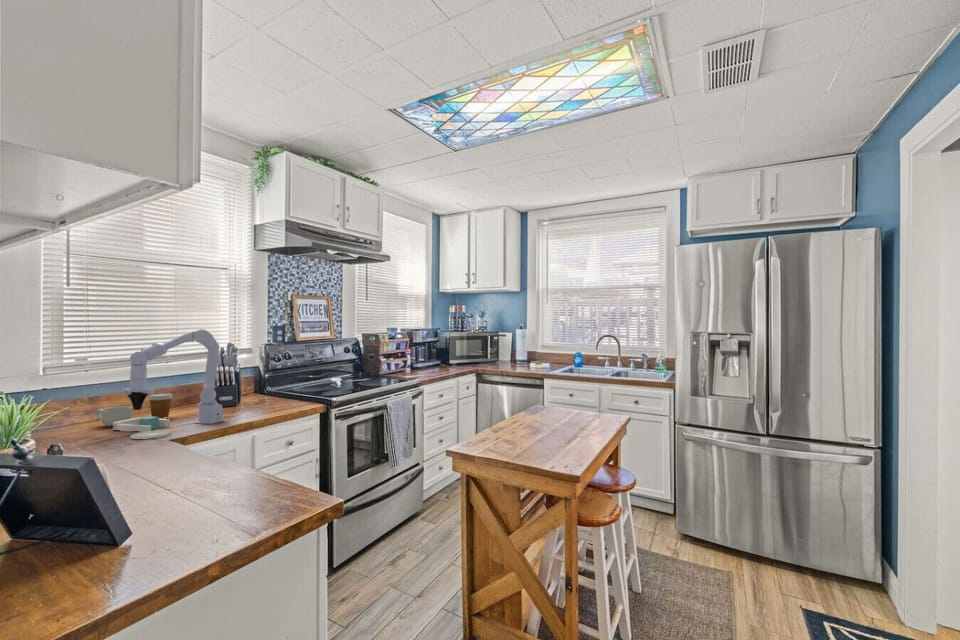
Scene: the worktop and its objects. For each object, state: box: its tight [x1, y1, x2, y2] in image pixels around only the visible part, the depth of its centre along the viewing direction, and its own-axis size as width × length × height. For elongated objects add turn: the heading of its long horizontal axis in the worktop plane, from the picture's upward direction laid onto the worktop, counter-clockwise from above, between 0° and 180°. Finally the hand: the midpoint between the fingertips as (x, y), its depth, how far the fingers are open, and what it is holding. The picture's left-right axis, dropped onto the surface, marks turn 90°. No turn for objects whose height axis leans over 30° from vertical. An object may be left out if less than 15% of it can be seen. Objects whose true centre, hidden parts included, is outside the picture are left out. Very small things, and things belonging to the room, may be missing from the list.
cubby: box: [112, 417, 171, 433], centre depth 186 cm, size 17×11×4 cm, turn 81°
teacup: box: [95, 405, 133, 428], centre depth 192 cm, size 14×11×8 cm
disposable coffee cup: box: [148, 393, 174, 418], centre depth 207 cm, size 10×10×12 cm
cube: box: [138, 416, 160, 430], centre depth 186 cm, size 5×5×5 cm
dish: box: [130, 429, 172, 439], centre depth 173 cm, size 13×13×1 cm
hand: (137, 409), depth 187 cm, fingers closed
